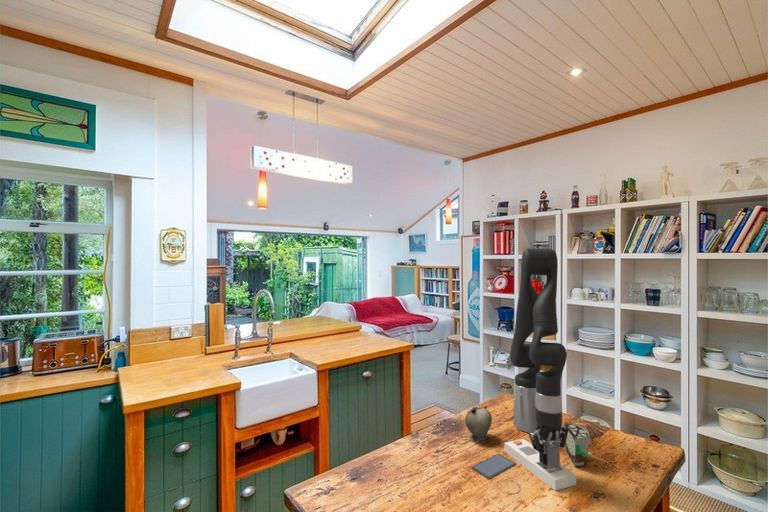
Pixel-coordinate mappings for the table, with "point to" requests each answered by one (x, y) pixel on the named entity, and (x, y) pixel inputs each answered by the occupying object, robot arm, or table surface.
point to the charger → (553, 456)
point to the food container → (577, 444)
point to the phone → (493, 466)
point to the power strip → (539, 465)
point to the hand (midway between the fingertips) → (549, 462)
